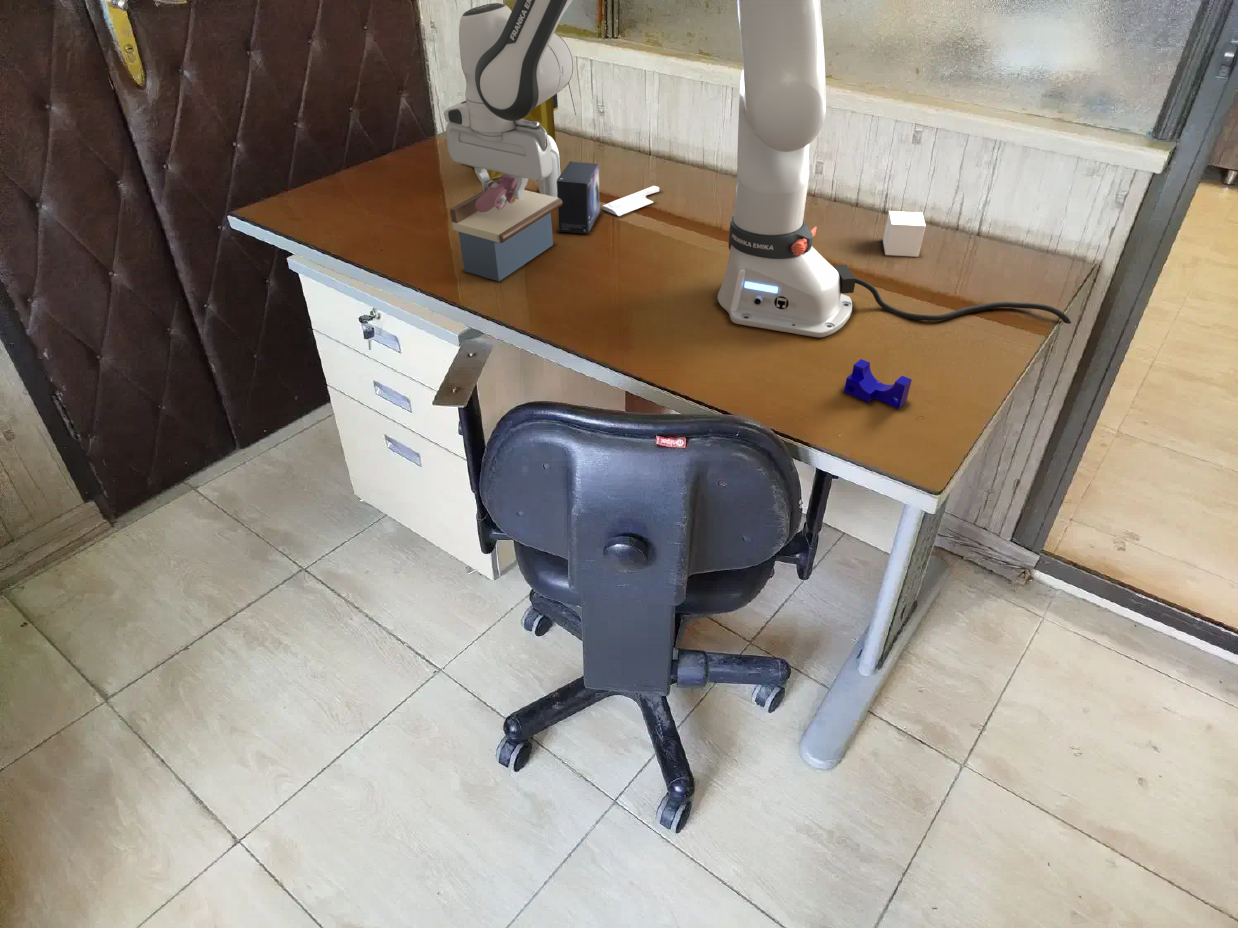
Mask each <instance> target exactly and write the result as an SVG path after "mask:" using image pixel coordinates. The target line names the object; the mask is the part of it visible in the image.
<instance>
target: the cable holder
mask: <svg viewBox="0 0 1238 928" xmlns="http://www.w3.org/2000/svg"><path fill="white" fill-rule="evenodd" d="M852 367H853V368H852V370H851V373H850V374H849V375H848V376H847V377H846V379H845V384H844V390H843V393H845V394H847V395H849V396H852V397H854V398H857V399H859V400H862V401H864V402H865V403H866V402H867V403H868V404H869V403H870V402H871V401H873V399H875V400H877V401H880V402H882V403H884V404H887V405H889V406H891V407H893V408H896V409H898V410H900V409H901V408H902V407H903V406H904V405H905V404H906V403H907V400H908V397H909V393H910V388H911V385H912V381H913V379H912V378H909V377H907V376H904V375H901V376H900V377H899V378H898V379H896V380H895V381H894V383H893V384H886V383H883V382H880V381H879V380H878V379H877V378H876V377H875V376H874V375H873V373H872V370H871V362H869V361H868V360H865V359H862V358H860V359H859V360H858V361H856V362H855V363H853V366H852Z"/></svg>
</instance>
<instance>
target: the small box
mask: <svg viewBox="0 0 1238 928" xmlns="http://www.w3.org/2000/svg"><path fill="white" fill-rule="evenodd" d="M557 198H560V199H561V200H562V202H563V204H562V205H561V206H560V207H558V208H557V217H558V218H557V220H558V221H557V222H558V223H557V224H558V232H559V233H560V232H561V233H573V234H582V235H583V234H584V235H588V234H589V233H590V231H591V229H592V228H593V226H594V225H595V223H596V221H597V219H598V217H599V215H600V213H601V208H600V207H601V205H600V164H599V163H592V162H583V161H582V162H581V161H571V160H570V161H569V162H568V163H567V165H566V166H565V167H564V169H563V171H562V172H560V176H559V178H558V179H557Z"/></svg>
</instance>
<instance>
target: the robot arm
mask: <svg viewBox="0 0 1238 928" xmlns="http://www.w3.org/2000/svg"><path fill="white" fill-rule="evenodd" d="M573 1H574V0H516V1H515V4H514V5H513V8H512V10H511V8H510V7H509V6H508V5H507V4H505V3H499V2H494V3H493V2H492V3H487V4H482V5H480V6H475V7H473V8H470V9H468V10H466V11H464V13H463V14H462V15H461V17H460V19H459V25H458V26H459V27H458V45H459V56H460V57H459V58H460V65H461V70H462V72H463V75H464V78H465V82H466V83H465V84H466V87H465V94H464V95H465V100H463V101H461V102H458V103H456V104H454V105H451V106H449V107H448V108H446V109H444V110H443V117H444V120H445V122H446V123H447V124H446V126H445V138H446V147H447V153H448V155H449V157H450V159H451V160H452V161H453V162H454V163H457V164H462V165H465V166H469V165H470V166H469V167H471V166H474V168H473V169H474V173H475V175H476V176H477V178H478V180H479V182H480V183H481V188H482V189H481V190H482V191H484V192H486V191H487V189H488V188H489V187H490V186H491V185H492V184H493V183H494V182H495V180H494V179H492V180H491V179H490V177H489V175H488V173H487V171H486V170H492V171H496V172H500V173H505V174H509V175H513V176H515V181H516V182H518V183H517V186H516V187H515V188H513V189H511V192H512V198H513V199H517V200H521V199H523V198H524V196H525V194H524V190H525V189H526V188H525V186H526V183H527V181H528V182H529V180H531V181H534V182H535V181H536V182H538V181H541V180H543V179H545V178H546V177H548V176H549V175H550V174H551V172H552V160H551V154H550V149H549V144H548V138H547V132H546V130H545V129H544V128H543V127H542V126H540V124H539V123H538V122H535V121H528V120H525V119H522V118H524V117H525V116H526V115H527V114H529V113H530V112H531V111H532V110H533V109H534V108H535V107H537V106H538V105H540V104H542V103H543V102H545V101H546V100H548V99H550V98H551V97H552V96H554V95H555V94H557V95H558V94H559V93H560V92H562V91H563V89H564V88H566V87H567V86H569V84H570V82H571V80H572V77H573V71H574V60H573V56H572V54H571V50H570V48H569V46H568V44H567V43H566V41H565V40H564V39H563V38H562V37H561V36H560V35H559V34H557V33H556V29H557V27H558V25H559V24H560V21H561V19H562V17H563V15H564V14H565V12H566V10H567V9H568V7H569V6H570V5H571V4H572V2H573ZM736 1H737V16H738V17H737V18H738V24H739V34H740V47H741V57H742V58H741V59H742V70H741V74H740V79H739V80H740V81H739V99H738V101H739V102H738V120H737V121H738V124H737V155H736V159H737V160H736V161H737V162H736V163H737V164H736V179H735V194H734V206H733V215H732V216H731V217H730V223H729V229H728V250H729V252H728V259H727V263H726V268H725V273H724V276H723V280H722V283H721V285H720V288H719V291H718V294H717V301H718V303H719V305H720V307H722V309H724V310H725V311H726V312H727V313H728V314H729V319H730V321H731V322H732V323H734V324H736V325H743V326H747V327H748V326H749V327H754V328H758V329H765V330H771V331H778V332H783V333H790V334H794V335H795V334H796V335H801V336H805V337H813V338H825V337H827V336H830V335H833V334H834V333H837V332H838V331H839V330H841V328H843V327H844V326H845V324H847V322H848V321H849V320H850V317H851V315H852V312H853V301H852V298H851V297H850V296H848V295H846V294H854V291H855V287H856V284H857V285H860V286H862V287H863V288H865V289H867V290H868V291H869V292H870V293H871V294H872V296H873V297H874V300H875V302H876V303H877V305H878V306H880V308H882V309H884V310H885V311H887V312H889V313H891V314H894V315H897V316H899V317H901V318H905V319H908V320H916V321H926V322H936V321H945V320H949V319H952V318H955V317H957V316H960V315H963V314H967V313H972V312H978V311H983V310H989V309H997V308H1012V309H1013V308H1014V309H1027V310H1028V309H1029V310H1039V311H1040V310H1041V311H1045V312H1048V313H1051V314H1053V315H1055V316H1057V317H1058V318H1059V319H1060V320H1061V321H1062V322H1063V323H1065V324H1068V325H1069V324H1070V325H1071V324H1072V321H1071V319H1070V317H1069V316H1068V315H1066V314H1065V312H1063V311H1062V310H1060V309H1058V308H1056V307H1054V306H1051V305H1048V304H1043V303H1034V302H1032V303H1031V302H1016V301H995V302H994V301H993V302H987V303H981V304H976V305H971V306H967V307H962V308H959V309H956V310H953V311H950V312H947V313H943V314H919V313H912V312H906V311H902V310H900V309H897V308H895V307H892V306H891V305H889V304H888V303H886V302H885V301H883V299H882V298H881V295H880V293H879V291H878V290H877V289H876V287H875V286H874V285H872V284H871V283H869V282H867V281H865V280H863V279H862V278H859V277H856V276H855V275H854V274H853V272H852V271H851V269H850V268H849V266H847V264H837V265H832V264H831V263H830V262H828V260H826V259H825V258H824V257H823V256H822V254H821V253H819V251H817V250H816V248H815V247H814V246H813V239H814V237H815V236H816V233H817V226H814V227H813V228H812V229H810V228H809V227H808V226H807V224H806V221H805V220H804V216H805V210H806V204H807V203H806V202H807V195H808V187H809V181H810V180H809V179H810V145H811V143H812V142H814V140H815V139H816V138H817V136H819V134H820V132H821V130H822V128H823V127H824V124H825V123H824V122H825V119H826V113H827V83H826V82H827V80H826V61H825V47H824V46H825V44H824V31H823V28H824V27H823V19H822V18H823V17H822V7H821V0H736ZM554 32H555V33H554ZM568 83H569V84H568ZM539 128H540V129H539ZM526 187H527V186H526ZM524 188H525V189H524Z"/></svg>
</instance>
